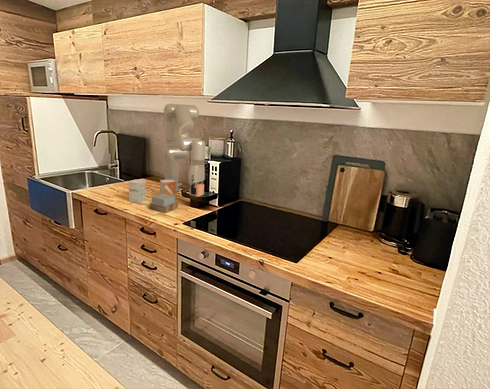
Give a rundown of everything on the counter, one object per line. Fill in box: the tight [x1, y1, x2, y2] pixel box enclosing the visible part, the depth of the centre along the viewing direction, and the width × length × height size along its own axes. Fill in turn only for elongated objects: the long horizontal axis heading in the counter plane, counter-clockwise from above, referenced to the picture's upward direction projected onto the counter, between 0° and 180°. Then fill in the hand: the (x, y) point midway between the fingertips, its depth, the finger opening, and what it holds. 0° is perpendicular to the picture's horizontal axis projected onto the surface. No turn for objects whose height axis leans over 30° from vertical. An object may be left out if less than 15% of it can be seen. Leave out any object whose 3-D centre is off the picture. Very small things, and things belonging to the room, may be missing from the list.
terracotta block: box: [188, 183, 205, 198], centre depth 172 cm, size 6×6×6 cm
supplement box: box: [128, 179, 147, 204], centre depth 181 cm, size 7×7×13 cm
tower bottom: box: [149, 201, 178, 214], centre depth 172 cm, size 11×11×4 cm
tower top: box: [151, 193, 176, 207], centre depth 171 cm, size 9×9×4 cm
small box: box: [159, 179, 177, 197], centre depth 186 cm, size 8×6×13 cm
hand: (196, 192), depth 173 cm, fingers closed on terracotta block, 6 cm apart
